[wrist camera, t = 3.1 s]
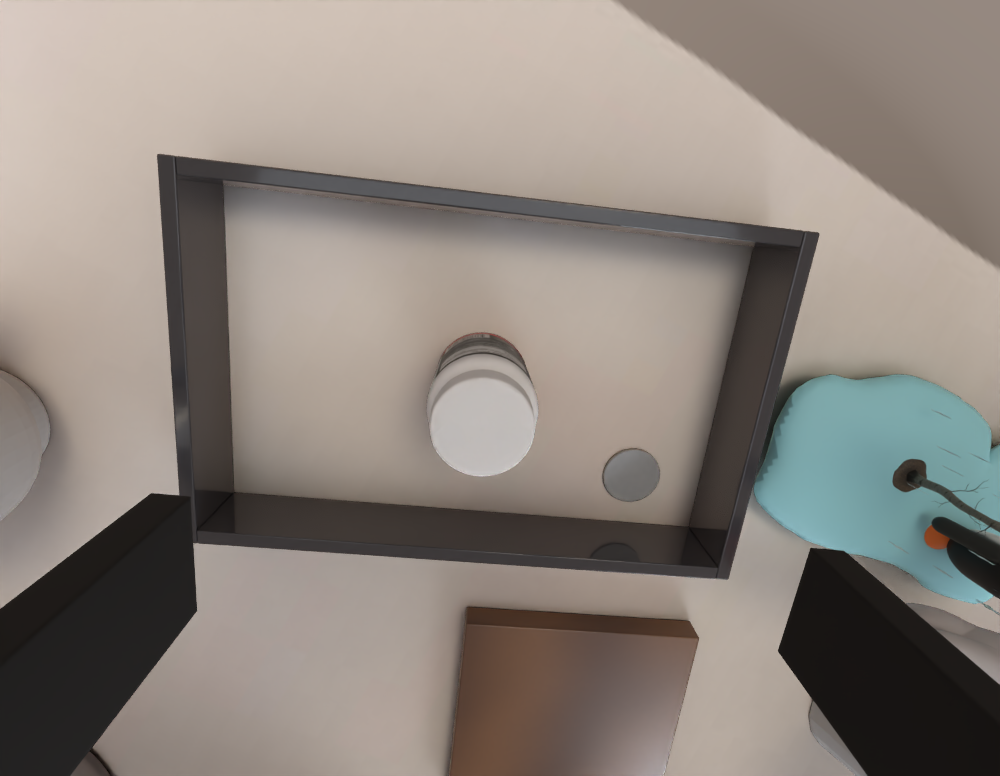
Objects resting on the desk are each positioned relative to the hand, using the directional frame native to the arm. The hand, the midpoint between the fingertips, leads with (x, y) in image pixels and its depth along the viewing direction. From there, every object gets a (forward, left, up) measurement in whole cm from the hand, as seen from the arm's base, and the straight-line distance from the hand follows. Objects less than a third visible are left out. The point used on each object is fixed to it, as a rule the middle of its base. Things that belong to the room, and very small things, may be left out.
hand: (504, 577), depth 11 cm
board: (+7, -21, -17) cm, 28 cm away
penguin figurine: (+25, -4, -17) cm, 30 cm away
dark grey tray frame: (0, 0, -17) cm, 17 cm away
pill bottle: (0, 0, -17) cm, 17 cm away
